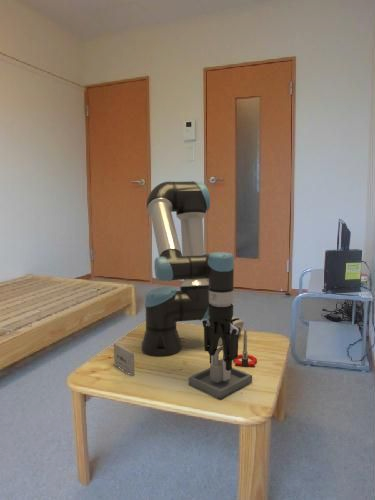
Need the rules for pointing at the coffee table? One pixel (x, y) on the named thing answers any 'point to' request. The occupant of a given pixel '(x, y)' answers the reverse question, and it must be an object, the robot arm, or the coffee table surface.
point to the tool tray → (220, 383)
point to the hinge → (236, 323)
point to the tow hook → (245, 355)
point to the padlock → (217, 367)
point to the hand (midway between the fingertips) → (220, 376)
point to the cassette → (124, 358)
